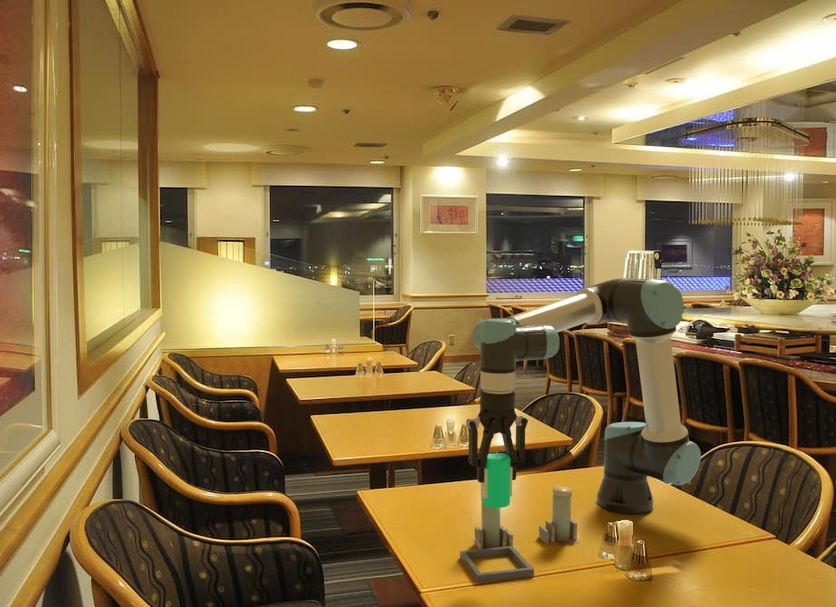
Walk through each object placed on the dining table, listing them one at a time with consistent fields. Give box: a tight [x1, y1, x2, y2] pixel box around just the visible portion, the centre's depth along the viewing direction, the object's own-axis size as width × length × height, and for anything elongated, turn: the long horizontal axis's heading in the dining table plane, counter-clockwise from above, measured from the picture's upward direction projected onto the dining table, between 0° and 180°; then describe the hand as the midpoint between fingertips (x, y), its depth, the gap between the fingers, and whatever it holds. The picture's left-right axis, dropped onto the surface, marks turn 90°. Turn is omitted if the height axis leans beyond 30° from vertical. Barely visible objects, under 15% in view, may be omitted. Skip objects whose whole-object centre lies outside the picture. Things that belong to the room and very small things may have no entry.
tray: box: [459, 545, 535, 588], centre depth 159 cm, size 13×13×3 cm
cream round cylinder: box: [551, 485, 573, 541], centre depth 175 cm, size 5×5×12 cm
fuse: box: [480, 494, 501, 548], centre depth 170 cm, size 5×5×12 cm
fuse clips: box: [472, 518, 581, 549], centre depth 171 cm, size 25×12×5 cm, turn 104°
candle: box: [483, 452, 511, 509], centre depth 157 cm, size 6×6×12 cm
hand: (496, 495), depth 158 cm, fingers closed on candle, 5 cm apart
